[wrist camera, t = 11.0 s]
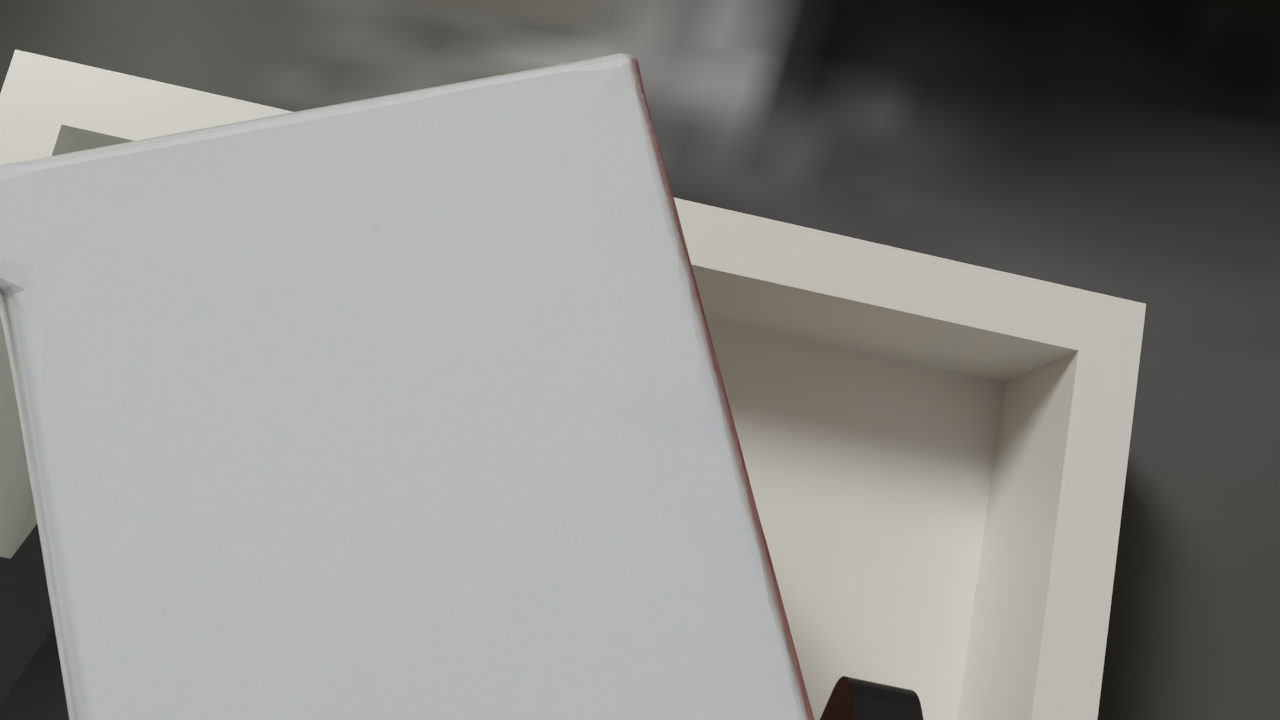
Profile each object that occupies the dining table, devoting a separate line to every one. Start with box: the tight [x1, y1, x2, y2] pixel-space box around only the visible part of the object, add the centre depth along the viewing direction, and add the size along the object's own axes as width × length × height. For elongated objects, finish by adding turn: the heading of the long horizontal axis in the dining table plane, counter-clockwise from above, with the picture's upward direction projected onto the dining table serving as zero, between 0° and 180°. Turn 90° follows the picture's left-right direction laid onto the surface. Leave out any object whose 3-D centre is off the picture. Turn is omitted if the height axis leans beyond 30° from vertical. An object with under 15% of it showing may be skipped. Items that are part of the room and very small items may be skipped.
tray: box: [0, 49, 1146, 720], centre depth 19 cm, size 18×13×4 cm
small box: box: [0, 53, 814, 720], centre depth 14 cm, size 8×6×10 cm
